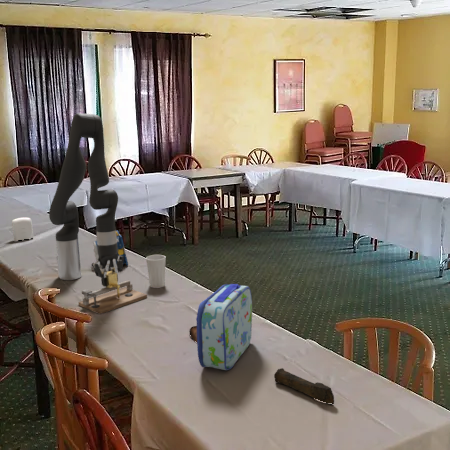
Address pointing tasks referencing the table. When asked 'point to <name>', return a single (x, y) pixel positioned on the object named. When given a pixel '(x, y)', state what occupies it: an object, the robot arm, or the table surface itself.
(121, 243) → the blue piece
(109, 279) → the sliding block
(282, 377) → the hand tool
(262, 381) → the table surface
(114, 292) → the board
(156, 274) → the cup
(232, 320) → the lunch box
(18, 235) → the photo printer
